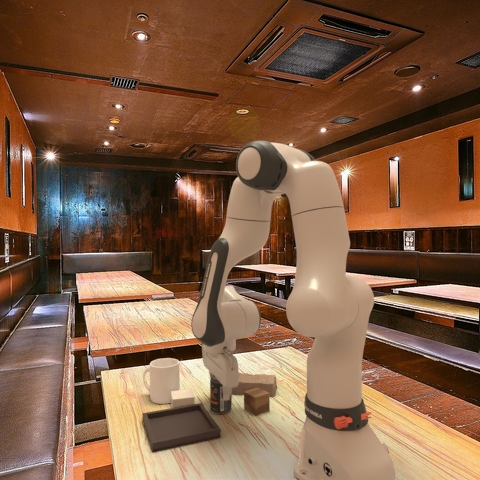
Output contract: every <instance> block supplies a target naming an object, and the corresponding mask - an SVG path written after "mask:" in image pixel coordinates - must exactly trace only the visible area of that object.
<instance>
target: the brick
mask: <svg viewBox="0 0 480 480" xmlns="http://www.w3.org/2000/svg"><path fill="white" fill-rule="evenodd" d="M277 384H278V383H277V377H276V375H275V374H265V373H264V374H262V373H259V374H257V373H256V374H251V373H244V372H243V373H242V372H239V384H238V387H235V388H232V395H235V396H237V395H238V396H244V392H245V391H248V390H251V389H254V388H260V389H262V390H264V391H266V392H268V393H269V397H275V396H276V392H277V389H278V386H277Z"/></svg>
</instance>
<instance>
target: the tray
mask: <svg viewBox="0 0 480 480" xmlns="http://www.w3.org/2000/svg"><path fill="white" fill-rule="evenodd" d="M141 419H142V423H143V426H144V429H145V433H146V436H147V439H148V442H149V445H150V448H151V450H152V453H154V452H155V453H157V452H160V451H165V450H169V449H174V448H178V447H183V446H187V445H188V446H189V445H192V444H193V445H194V444H196V443H197V444H198V443H201V442H203V443H204V442H208V441H211V440H215V439H216V440H217V439H221V438H222V435H221V432H222V431H221V427H220V426H219V425H218V423H217V422H216V421H215V420H214V418H213V417H212V415H211V414H210V412H209V411H208V409H206V406H205V405H204V404H203V403H202V402H200V403H195V404H192V405H187V406H181V407H175V408H172V407H170V408H165V409H160V410H159V409H158V410H154V411H153V410H152V411H147V412H143V413H142V418H141Z"/></svg>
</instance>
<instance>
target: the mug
mask: <svg viewBox="0 0 480 480" xmlns="http://www.w3.org/2000/svg"><path fill="white" fill-rule="evenodd" d="M147 373H149V384H147V382H146V379H145V377H146V374H147ZM142 376H143V377H142V380H143V385H144V387H145V389H146V390H147V391H149V396H150V401H151V402H152V403H154V404H157V405H167V404H171V391H177V390H181V389H180V385H181V384H180V383H181V381H180V377H181V376H180V360H179V359H176V358H171V357H166V358H165V357H164V358H157V359H154V360H152V361H150V363H149V365H148V366H147V367H146V368H145V369H144V371H143V374H142Z"/></svg>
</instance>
